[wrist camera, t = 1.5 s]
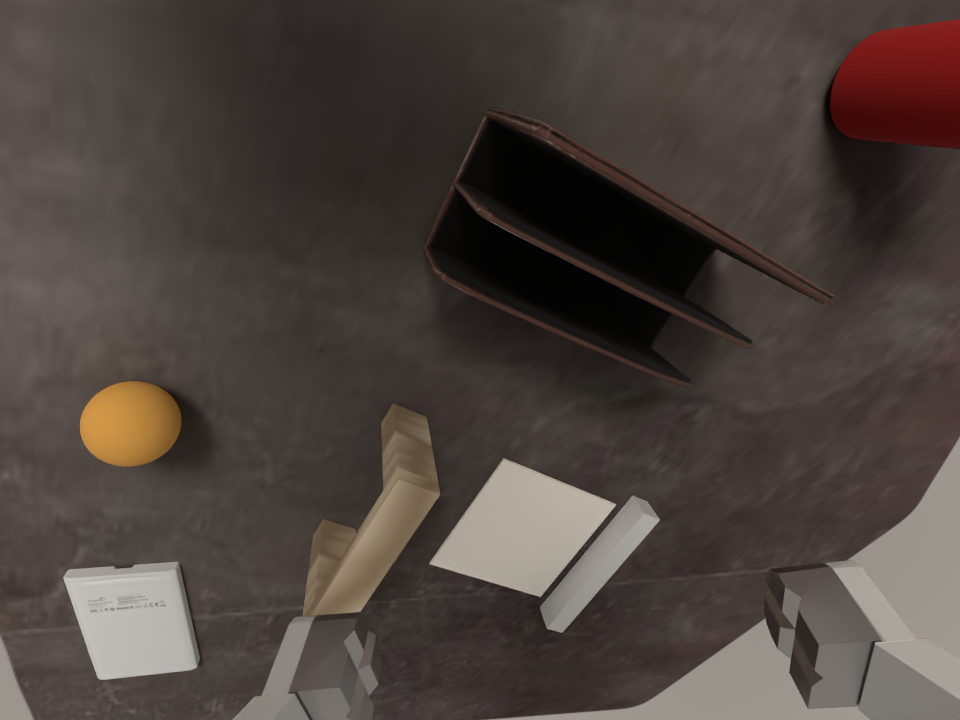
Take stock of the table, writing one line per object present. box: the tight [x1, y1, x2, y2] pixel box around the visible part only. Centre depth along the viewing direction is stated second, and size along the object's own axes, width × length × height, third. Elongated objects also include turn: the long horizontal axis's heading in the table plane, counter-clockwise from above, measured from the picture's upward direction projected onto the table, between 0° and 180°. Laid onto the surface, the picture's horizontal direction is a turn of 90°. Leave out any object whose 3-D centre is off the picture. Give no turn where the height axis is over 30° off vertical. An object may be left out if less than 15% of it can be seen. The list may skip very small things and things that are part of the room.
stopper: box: [540, 495, 660, 633], centre depth 52 cm, size 2×16×2 cm, turn 148°
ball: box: [80, 381, 181, 467], centre depth 35 cm, size 6×6×6 cm
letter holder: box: [424, 107, 834, 387], centre depth 32 cm, size 10×20×14 cm, turn 63°
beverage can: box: [830, 19, 960, 149], centre depth 32 cm, size 7×7×12 cm
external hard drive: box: [63, 562, 200, 680], centre depth 46 cm, size 2×8×12 cm
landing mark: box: [429, 458, 616, 597], centre depth 50 cm, size 13×13×1 cm
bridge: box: [303, 403, 440, 616], centre depth 40 cm, size 3×15×9 cm, turn 148°
